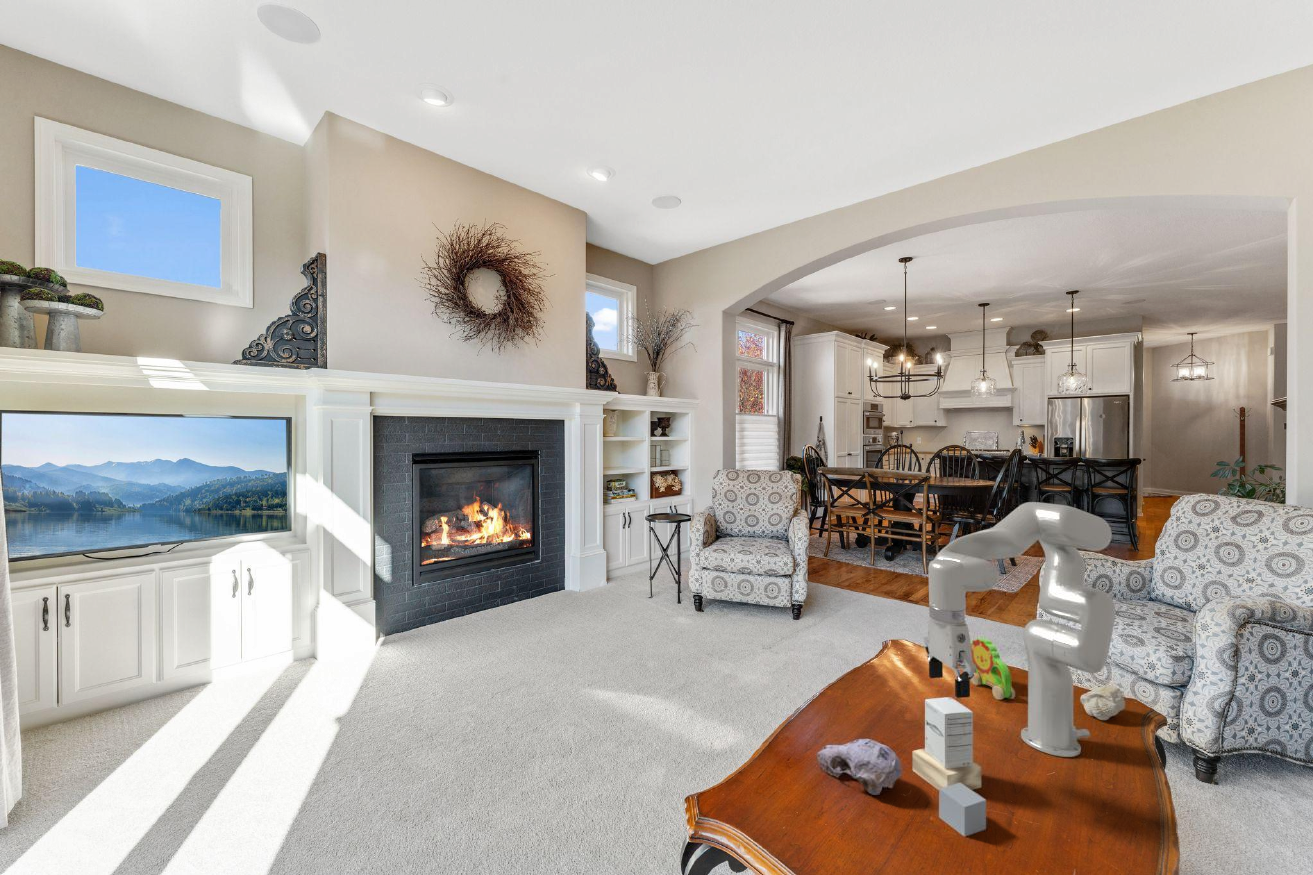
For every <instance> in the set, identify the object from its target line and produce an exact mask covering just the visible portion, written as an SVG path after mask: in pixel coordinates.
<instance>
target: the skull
mask: <svg viewBox="0 0 1313 875" xmlns="http://www.w3.org/2000/svg"><path fill="white" fill-rule="evenodd" d="M816 758H817V760H818V769H820V766H821V768H822V770H823V771H824V772H825V773H827V774H829V775H830V776H834V777H835V778H837V779H838V778H839V777H840V776H841V775H842V774H843V773H846V774H848V775H849V776H850V777H852V779H855V780H857V782H859V783H860V784H861V786H862V787H863V788H864V789H865V791H866V792H868V793H869V794H870V795H872V796H879V795H881V794H880V793H881V792H882V790H883V788H887V787H888V789H893V787H894V786H895V785H896V781H897V780H898V779H901V777H902V776H903V766H902V763H901V760H900V759H899V757H898V755H897V754H896V753H895V751H893V749H891V748H890V747H889V746H888V745H886V744H882V743H879V742H878V741H876V740H873V739H871V738H870V739H869V738H858V739H855V740H853V741H850V742H847V743H846V744H845V743H844V744H827V745H824V746H823V747H822V749H821V750H820V751H818V752H817V753H816Z"/></svg>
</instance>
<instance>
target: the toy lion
mask: <svg viewBox="0 0 1313 875" xmlns="http://www.w3.org/2000/svg"><path fill="white" fill-rule="evenodd" d="M971 652H972V663H973V664H974V665H975V667H976V670H975V672H974V676H973V677H972V680H970V682H971V683H972V684H973V685H974V684H975V685H974V686H981V685H986V686H989V687H991V689H992V690H991V692H992V695H993V697H994V698H995V699H996V700H998V701H999V700H1003V699H1005V698H1007V699H1008V700H1012V699H1013V700H1014V699H1015V697H1016V691H1015V689H1014V688H1013V687H1012V675H1011V672H1010V669H1009V668H1008V666H1007V664H1006V663H1005V661H1003V660H1002V659H1001V657H1000V654H999V651H998V650H997V647H996V646H995V645H994V644H993V643H992V641H991V639H986V638H983V637H982V638H976V639H972V640H971ZM998 670H999V672H1000V675H1001V677H1000V676H999V674H998Z"/></svg>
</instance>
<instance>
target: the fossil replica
mask: <svg viewBox="0 0 1313 875" xmlns="http://www.w3.org/2000/svg"><path fill="white" fill-rule="evenodd" d="M1123 693H1124V692H1123V691H1122V690H1121V689H1120V688H1119V687H1116V686H1098V687H1096V688H1094V689H1092V690H1091V691H1090V690H1089V691H1088V692H1086V693H1083V694H1082V695H1081V696H1080V698H1079V699H1080V700H1079V701H1080V703H1081V705H1083V708H1084V710H1085V712H1086V713H1087V714H1088V715H1089V716H1091V717H1095V718H1096V719H1098V720H1100V721H1107V720H1109V719H1110V718H1111V717H1113V716H1116V715H1118V714H1119V712H1121V711H1123V710H1124V709H1125V708H1126V701H1125V699H1124V695H1123Z"/></svg>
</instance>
